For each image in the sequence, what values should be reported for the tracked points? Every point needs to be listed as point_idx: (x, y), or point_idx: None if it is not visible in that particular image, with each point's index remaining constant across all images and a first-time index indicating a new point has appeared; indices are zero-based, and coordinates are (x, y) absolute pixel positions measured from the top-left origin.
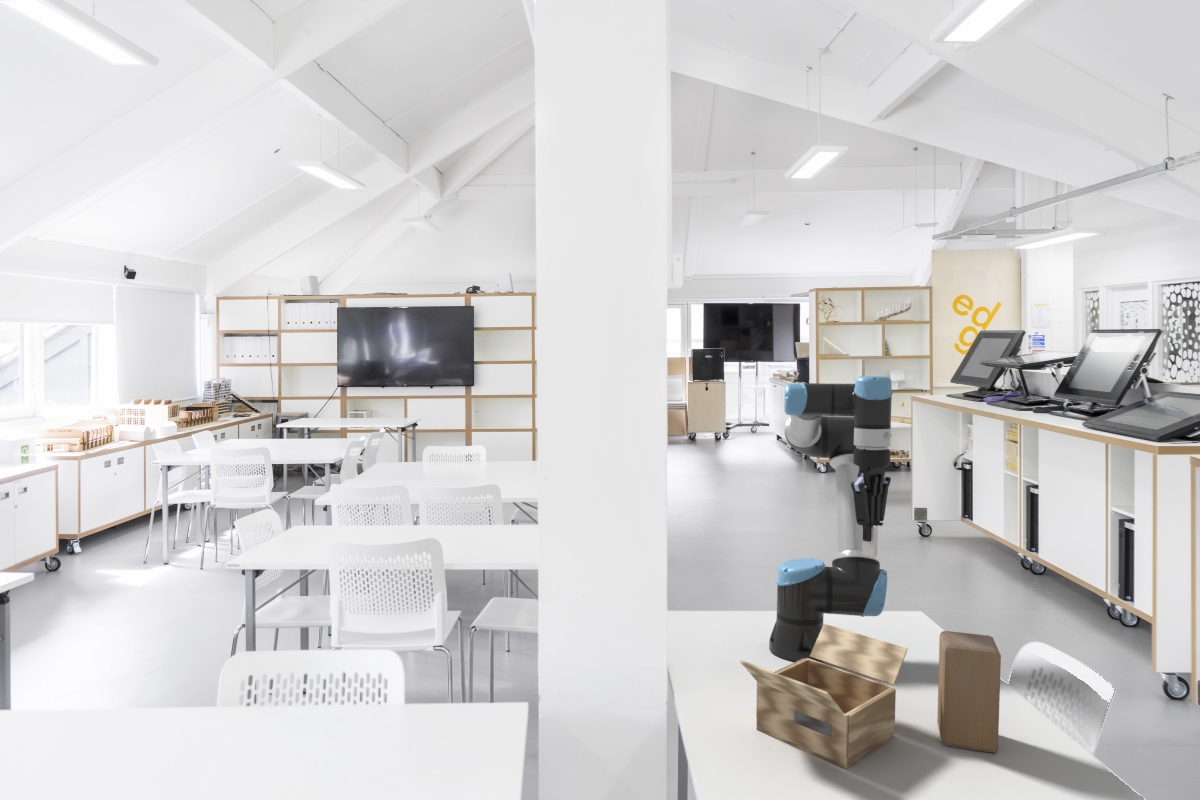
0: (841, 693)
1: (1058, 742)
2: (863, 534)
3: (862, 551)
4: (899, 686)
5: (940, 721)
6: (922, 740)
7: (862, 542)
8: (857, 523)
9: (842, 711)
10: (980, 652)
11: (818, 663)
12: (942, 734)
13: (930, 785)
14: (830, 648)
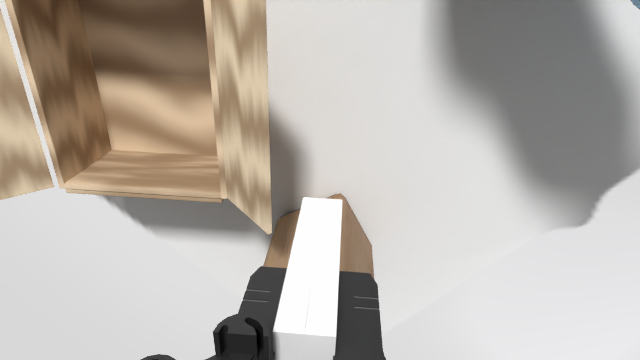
0: None
1: (403, 307)
2: (242, 303)
3: (302, 206)
4: (450, 84)
5: (289, 224)
6: (273, 192)
7: (295, 237)
8: (149, 357)
9: (46, 188)
10: None
11: (206, 25)
12: (276, 225)
13: (173, 238)
14: (230, 44)
